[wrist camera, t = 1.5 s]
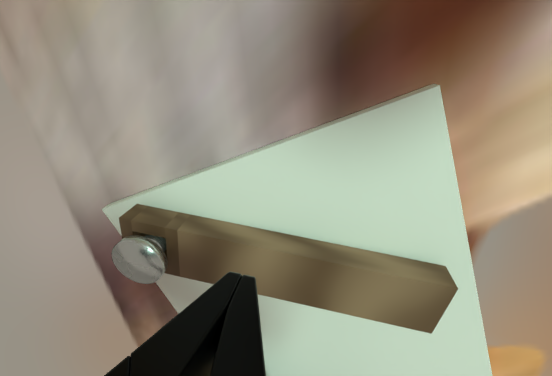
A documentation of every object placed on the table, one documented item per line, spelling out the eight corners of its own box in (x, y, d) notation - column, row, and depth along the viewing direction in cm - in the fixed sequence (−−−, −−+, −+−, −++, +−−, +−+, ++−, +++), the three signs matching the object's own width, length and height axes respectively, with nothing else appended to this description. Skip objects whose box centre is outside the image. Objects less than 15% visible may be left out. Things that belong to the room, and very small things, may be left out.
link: (142, 247, 20) (126, 264, 18) (137, 203, 18) (118, 218, 17) (422, 309, 18) (431, 333, 16) (445, 266, 16) (458, 288, 15)
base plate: (488, 375, 21) (523, 445, 17) (243, 389, 28) (229, 442, 24) (433, 83, 13) (476, 95, 9) (109, 203, 20) (58, 238, 16)
